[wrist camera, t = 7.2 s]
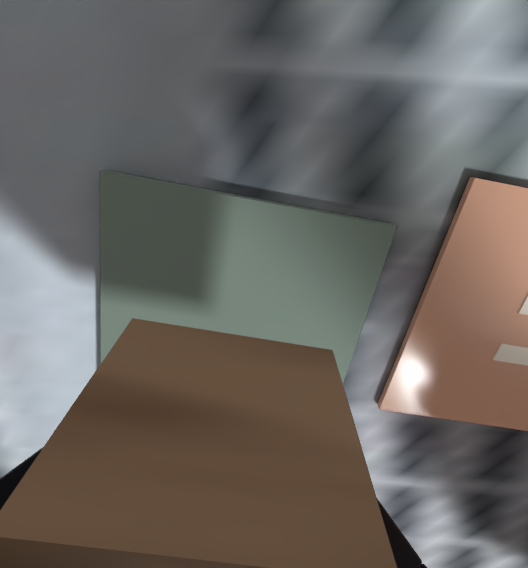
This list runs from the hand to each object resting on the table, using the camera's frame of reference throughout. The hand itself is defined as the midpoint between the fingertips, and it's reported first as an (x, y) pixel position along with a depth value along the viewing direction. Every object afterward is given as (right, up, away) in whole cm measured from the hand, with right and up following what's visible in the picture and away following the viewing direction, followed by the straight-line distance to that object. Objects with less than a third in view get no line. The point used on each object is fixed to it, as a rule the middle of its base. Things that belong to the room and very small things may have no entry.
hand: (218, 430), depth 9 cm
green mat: (0, +2, +5) cm, 6 cm away
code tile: (+12, +2, +5) cm, 13 cm away
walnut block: (0, 0, +1) cm, 1 cm away
